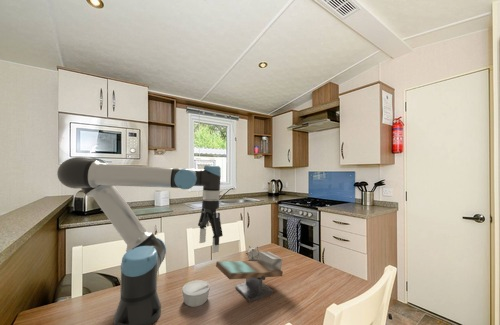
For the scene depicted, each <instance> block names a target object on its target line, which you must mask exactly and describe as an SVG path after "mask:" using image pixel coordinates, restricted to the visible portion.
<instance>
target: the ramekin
mask: <svg viewBox="0 0 500 325" xmlns="http://www.w3.org/2000/svg"><path fill="white" fill-rule="evenodd" d="M210 289H211V285H210V283H209V282H208V281H206V280H201V279H198V280H192V281H189V282H187V283H185V284H184V285H182V289H181V293H182V298H183V302H184V304H185V305H187V306H188V307H193V308H194V307H195V308H196V307H199V306H202V305H204V304H205V303H206V302H207V301H208V299H209V293H210Z"/></svg>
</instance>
